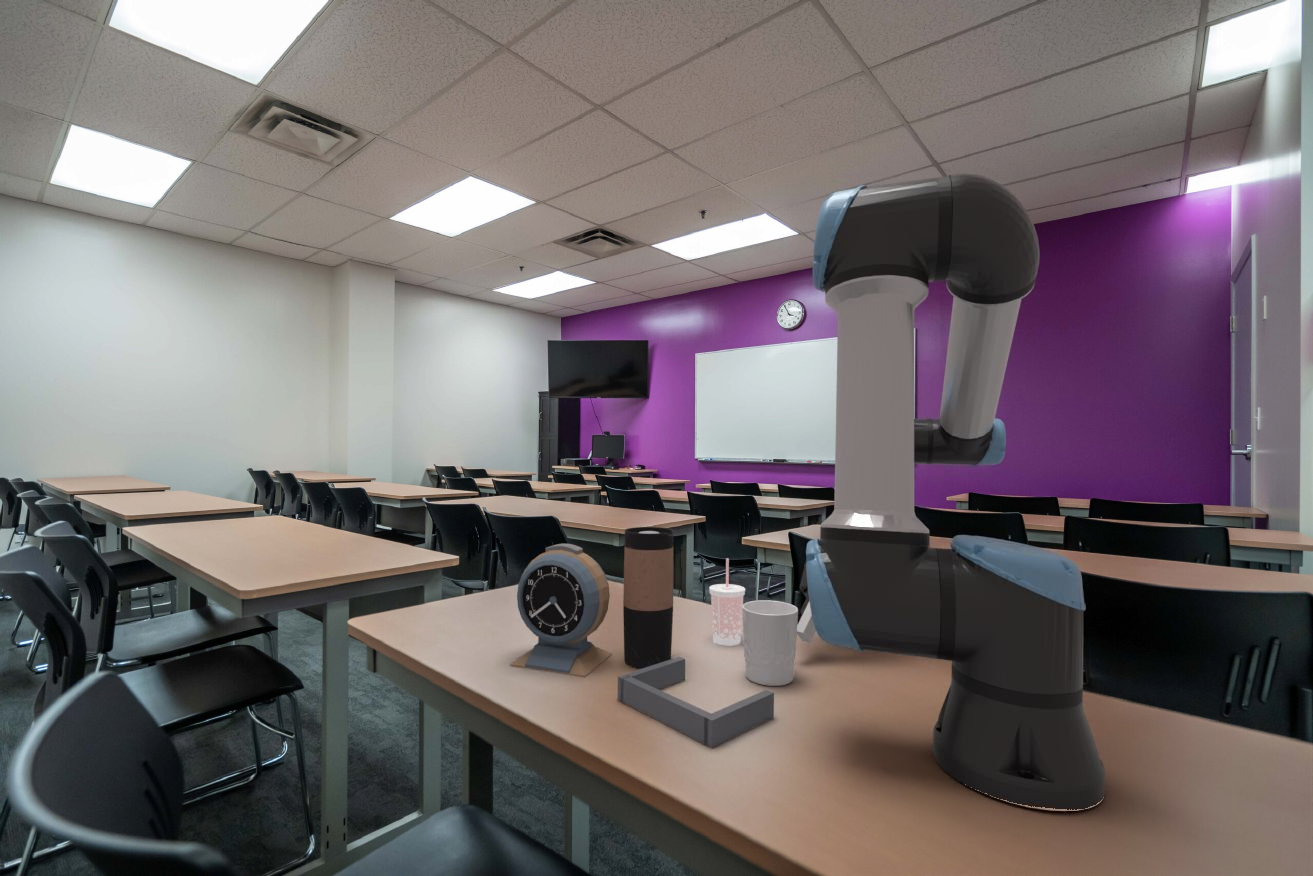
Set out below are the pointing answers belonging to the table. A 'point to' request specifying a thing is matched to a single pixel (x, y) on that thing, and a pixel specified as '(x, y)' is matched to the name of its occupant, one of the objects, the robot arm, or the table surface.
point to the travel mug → (648, 596)
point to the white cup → (769, 641)
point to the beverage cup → (726, 611)
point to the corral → (684, 717)
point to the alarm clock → (563, 610)
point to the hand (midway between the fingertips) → (802, 636)
